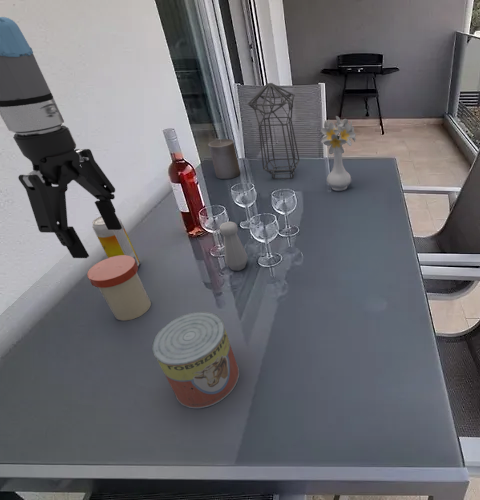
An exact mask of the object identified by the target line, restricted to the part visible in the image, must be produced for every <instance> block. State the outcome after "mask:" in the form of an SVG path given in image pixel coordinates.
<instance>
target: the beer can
mask: <svg viewBox="0 0 480 500" xmlns="http://www.w3.org/2000/svg"><path fill="white" fill-rule="evenodd" d="M117 218H118V220H119V222H120V224H121V227H122V229H120V230H108V229H107V227H106V225H105V223H104V221H103V218H102V216H101V215H100V216H98V217H96V218H94V219H93V220H92V229H93V231H94V233H95V235H96V237H97V239H98V241H99V243H100V245H101V247H102V249H103V251H104V253H105V254H106V257H107V258H110V257H114V256H120V255H127V256H131V257H133V258H134V259H135V262H136V263H137V266H138V267H139V265H140V260H139V259H140V258H139V257H138V255H137V253H136V251H135V248H134V246H133V244H132V242H131V239H130V238H129V237H130V236H129V235H128V232H127V231H126V228H125V226H124V223H123V222H122V219H121V218H120V217H119V216H117Z"/></svg>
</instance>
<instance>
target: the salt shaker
mask: <svg viewBox="0 0 480 500" xmlns="http://www.w3.org/2000/svg"><path fill="white" fill-rule="evenodd" d="M238 228H239V227H238V224H237V223H236V222H234V221H225V222H222V223H221V224H220V225H219V233H220V234H221V236H223V246H224V247H223V249H224V250H223V251H224V252H223V253H224V263H225V265H226V266H227V267H229V269H230V270H231V271H237V272H239V271H242V270H243V269H246V266H247V263H248V259H249V258H248V254H247V252H246V250H245V247H244V245H243V243H242V241H241V239H240V237H239V235H238V231H239V229H238Z"/></svg>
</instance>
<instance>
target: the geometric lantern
mask: <svg viewBox="0 0 480 500" xmlns="http://www.w3.org/2000/svg"><path fill="white" fill-rule="evenodd" d="M264 92H265V95H263V94H264ZM285 93H286V94H285ZM268 94H269V96H268ZM275 94H277V96H275ZM295 96H296V95H295V94H294V93H292V92H290V91H288V90H286V89H284V88H282V87H281V86H278V85H277V84H274V83H273V82H266V84H264V86H263V87H262V88H261V90H260V91H259V92H257V94H255V96H254V97H252V98H251V99H250V100H249V101H248V102H247V105H248V106H249V107H250V108H251V109H252V110H254V114H255V118H256V121H257V123H258V124H257V125H258V134H259V135H258V136H259V144H260V154H261V162H262V170H263V171H265V172H267V173H269V174H270V175H271V178H272V179H273V180H278V179H279V180H281V179H282V180H283V179H284V180H287V179H289V180H290V179H293V178H294V176H295V170H296V169H297V167H298V165H299V163H300V155H299V150H298V146H297V145H298V144H297V140H296V139H297V138H296V134H295V130H294V125H293V108H294V100H295ZM260 98H261V99H262V100H263V101H262V103H258V100H259V99H260ZM272 99H273V102H272ZM276 99H280V103H279V102H278V103H276ZM266 102H268V103H269V104H265V103H266ZM285 105H288V113H287V111H286V109H285V108H284V106H285ZM258 106H261V107H262V110H261V109H260V108H258ZM275 106H278V107H277V108H275V109H274V107H275ZM265 107H270V111H268V112H266V111H265ZM281 108H282V110H283V111H284V112H285V114H286V116H278V115H277V114H276V112H277V111H278V110H280V109H281ZM257 111H258V112H259V113H260V114H261V115H262V119H261V120H259V117H258V113H257ZM271 114H273V115H274V116H273V117H272V116H271ZM266 115H268V116H267V117H266ZM270 119H277V121H278V122H279V123H280V124H277V123H276V124H275V123H274V124H271V120H270ZM281 119H286V121H285V123H283V121H282V120H281ZM266 120H267V121H268V122H267V123H268V124H266ZM272 126H273V127H274V126H275V127H276V126H277V127H278V126H281V129H282V136H283V141H284V147H285V153H286V158H285V157H284V158H283V157H282V158H275V152H274V144H273V136H272V129H271V127H272ZM284 126H286V131H287V136H288V141H289V146H290V151H291V157H289V152H288V146H287V145H288V144H287V140H286V139H287V138H286V134H285V129H284ZM262 127H264V133H265V141H264V134H263V128H262ZM267 127H268V129H269V137H270V144H271V151H272V157H273V158H271V159H270V153H269V151H270V150H269V144H268V143H269V142H268V133H267ZM265 144H266V145H265ZM265 146H266V147H265ZM295 150H296V153H295ZM296 156H297V158H296ZM264 160H265V161H264ZM285 160H286V161H287V163H288V164H287V165H283V166H277V164H276V161H285ZM290 160H292V162H291V163H290ZM272 161H273V163H274V165H273V163H272ZM264 164H265V165H264ZM269 164H270V165H271V166H272V168H273V169H269ZM277 168H278V169H277ZM279 168H288V169H279ZM277 172H278V173H277ZM279 172H280V173H279ZM276 175H289V177H276Z"/></svg>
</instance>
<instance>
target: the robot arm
mask: <svg viewBox="0 0 480 500" xmlns="http://www.w3.org/2000/svg"><path fill="white" fill-rule="evenodd" d="M0 117H1V119H2V121H3V123H4V124H5V127H6V128H7V131H9V132H11V133H14V134H13V140H14V142H15V143H16V145H17V147H18V149H19V150H20V152H21V154H22V155H23V156H24V157H25V158H26V159H28V160H29V161H30V162H31V165H32V171H31V172H29V173H27V174H19V175H18V177H17V179H18V181H19V182H20V184H21V185H22V187H23V188H24V189H25V191H26V194H27V198H28V201H29V203H30V207H31V210H32V214H33V216H34V219H35V222H36V225H37V229H38V231H39V232H40V233H43V234H44V233H48V234H49V233H54V234H55V236H56V237H57V239H58V241H59V242H60V244H61V246H63V247H66V249H67V251H68V252H69V253H70V255H71V257H72V259H87V258H89V257H90V255H89V253H88V250H86V248H85V246H84V244H83V242H82V240H81V238H80V237H79V235H78V233H77V232H76V229H75V228H74V226H69V225H68V211H67V210H68V209H67V199H66V192H67V191H68V187H69V186H68V185H69V184H70V183H72V182H73V181H74V182H75V183H77V184H78V185H79V186H81V187H82V188H83V189H84V190H85V191H87V192H88V193H89V194H90V195H91V196H92V197H93V198H94V199H96V201H94V204H95V206H96V209H97V210H98V213H99V215H100V216H102V218H103V221H104V223H105V225H106V227H107V229H108V230H120V229H122V227H121V224H120V222H119V220H118V218H119V217H118V215H117V214H116V208H115V206H114V204H113V202H112V200H115V197H116V196H115V194H114V193H116V188H115V186H114V185H113V183H112V182H111V181H110V180H109V178H108V177H107V176H106V174H105V173H104V171H103V170H102V168H101V167H100V166H99V164H98V163H97V161H96V160H95V157H94V155H93V152H92V150H91V149H90V148H77V143H76V141H75V139H74V137H73V134H72V133H71V131H70V128H69V127H67V126H66V125H64V124H65V122H66V121H65V119H64V117H63V114H62V112H61V111H60V109H59V106H58V104H57V102H56V100H55V97H54V96H53V93H52V92H51V89H50V87H49V84H48V83H47V80H46V78H45V76H44V74H43V72H42V70H41V68H40V66H39V63H38V61H37V59H36V57H35V55H34V51H33V49H32V47H31V46H30V44H29V43H28V41H27V39H26V37H25V36H24V34H23V32H22V30H21V29H20V26H19V25H18V24H17V22H16V21H15V20H13V19H11V18H10V17H5V16H0ZM117 217H118V218H117Z"/></svg>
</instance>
